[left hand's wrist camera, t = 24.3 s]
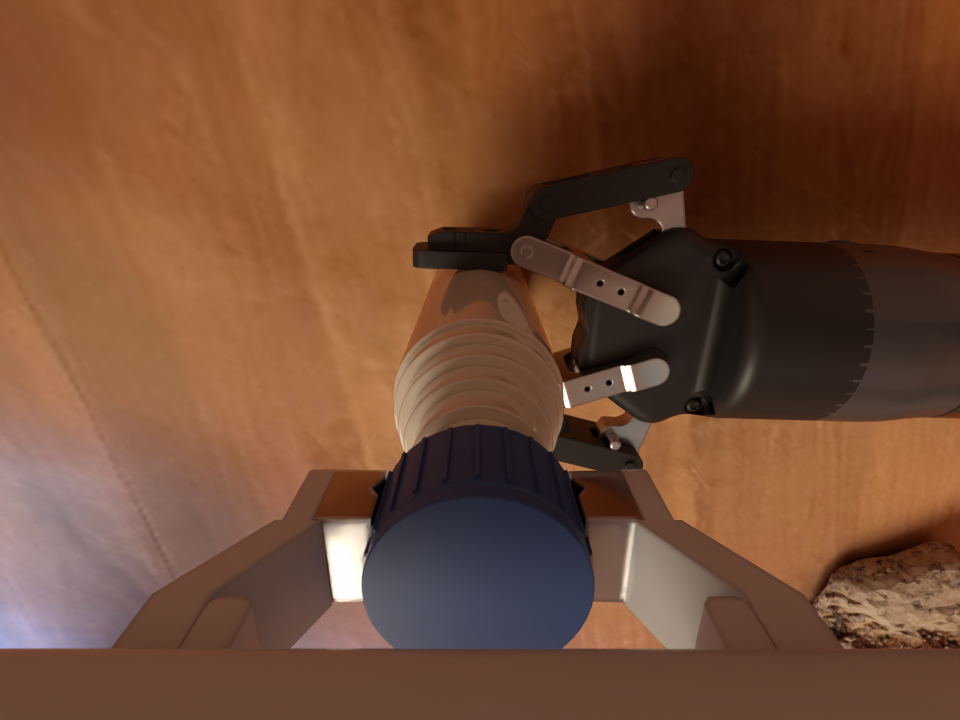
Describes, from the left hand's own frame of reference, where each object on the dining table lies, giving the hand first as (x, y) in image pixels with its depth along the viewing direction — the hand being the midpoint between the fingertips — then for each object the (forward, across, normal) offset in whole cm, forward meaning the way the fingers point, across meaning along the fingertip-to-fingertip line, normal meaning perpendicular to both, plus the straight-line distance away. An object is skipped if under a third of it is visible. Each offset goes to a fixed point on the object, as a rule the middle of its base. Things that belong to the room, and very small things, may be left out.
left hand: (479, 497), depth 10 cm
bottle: (+19, 0, 0) cm, 19 cm away
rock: (+19, +28, -25) cm, 42 cm away
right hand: (+12, -3, 0) cm, 13 cm away
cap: (-2, 0, 0) cm, 2 cm away
